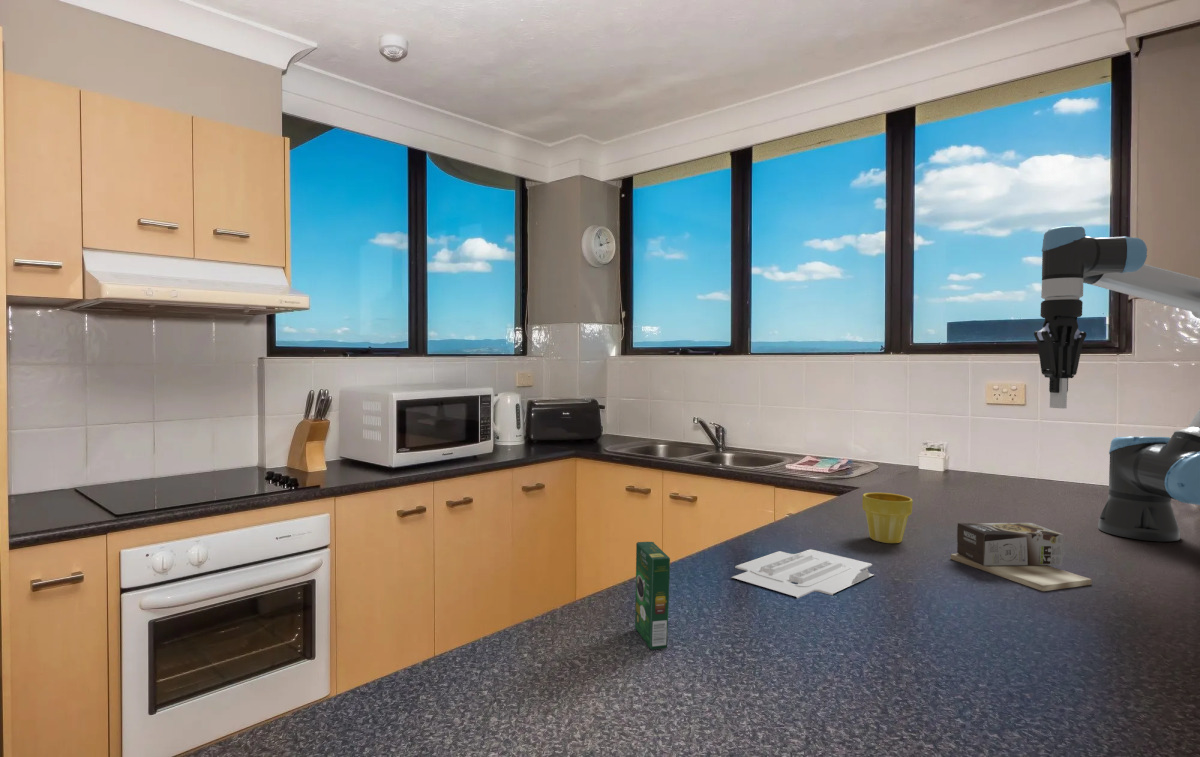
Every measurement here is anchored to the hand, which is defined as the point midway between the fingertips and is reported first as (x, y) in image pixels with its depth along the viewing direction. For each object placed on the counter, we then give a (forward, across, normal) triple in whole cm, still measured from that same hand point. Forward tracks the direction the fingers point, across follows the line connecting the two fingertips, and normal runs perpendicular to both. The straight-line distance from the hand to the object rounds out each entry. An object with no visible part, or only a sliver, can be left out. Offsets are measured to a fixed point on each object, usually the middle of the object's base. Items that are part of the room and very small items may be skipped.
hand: (1057, 407), depth 148 cm
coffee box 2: (+26, +14, +9) cm, 31 cm away
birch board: (+30, +24, +11) cm, 40 cm away
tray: (+31, +64, -1) cm, 71 cm away
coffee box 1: (+31, +104, +19) cm, 110 cm away
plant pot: (+31, +32, -15) cm, 47 cm away
